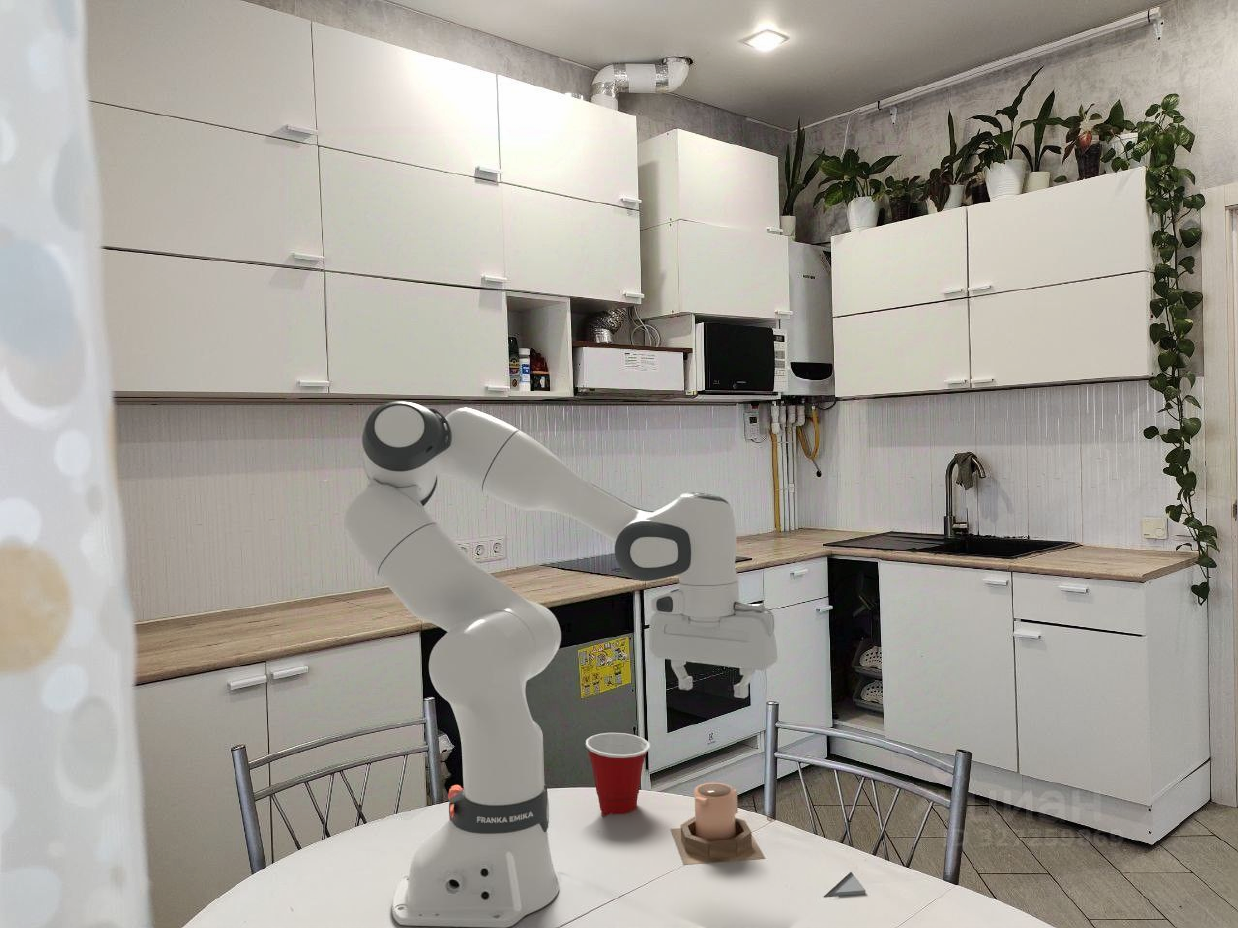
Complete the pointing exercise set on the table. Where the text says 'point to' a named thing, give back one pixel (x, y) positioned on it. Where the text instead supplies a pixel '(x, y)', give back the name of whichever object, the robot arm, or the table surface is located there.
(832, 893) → the slate mat
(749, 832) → the holder
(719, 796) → the jug
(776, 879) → the table surface
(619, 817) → the table surface
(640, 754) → the plastic cup
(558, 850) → the table surface
